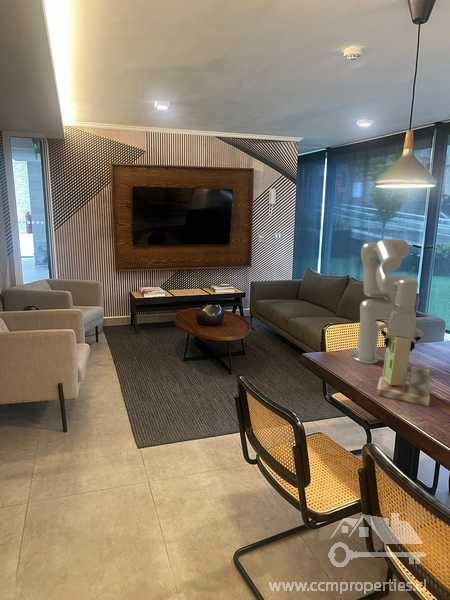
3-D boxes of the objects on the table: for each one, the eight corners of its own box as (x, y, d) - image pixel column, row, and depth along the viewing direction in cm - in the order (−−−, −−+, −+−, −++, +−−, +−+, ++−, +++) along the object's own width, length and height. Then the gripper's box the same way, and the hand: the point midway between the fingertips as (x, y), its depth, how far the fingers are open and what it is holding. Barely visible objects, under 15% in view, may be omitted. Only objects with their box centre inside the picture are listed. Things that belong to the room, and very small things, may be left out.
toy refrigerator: (380, 377, 186) (386, 331, 181) (396, 377, 186) (403, 332, 181) (388, 385, 178) (395, 337, 173) (405, 385, 179) (412, 338, 174)
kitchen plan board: (376, 395, 178) (379, 370, 176) (379, 382, 191) (382, 359, 188) (428, 405, 171) (432, 380, 168) (428, 392, 183) (432, 368, 181)
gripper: (381, 308, 174) (376, 347, 178) (427, 314, 167) (421, 355, 171) (382, 304, 181) (377, 342, 185) (427, 310, 174) (421, 349, 178)
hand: (398, 348), depth 178 cm, fingers closed on toy refrigerator, 9 cm apart
